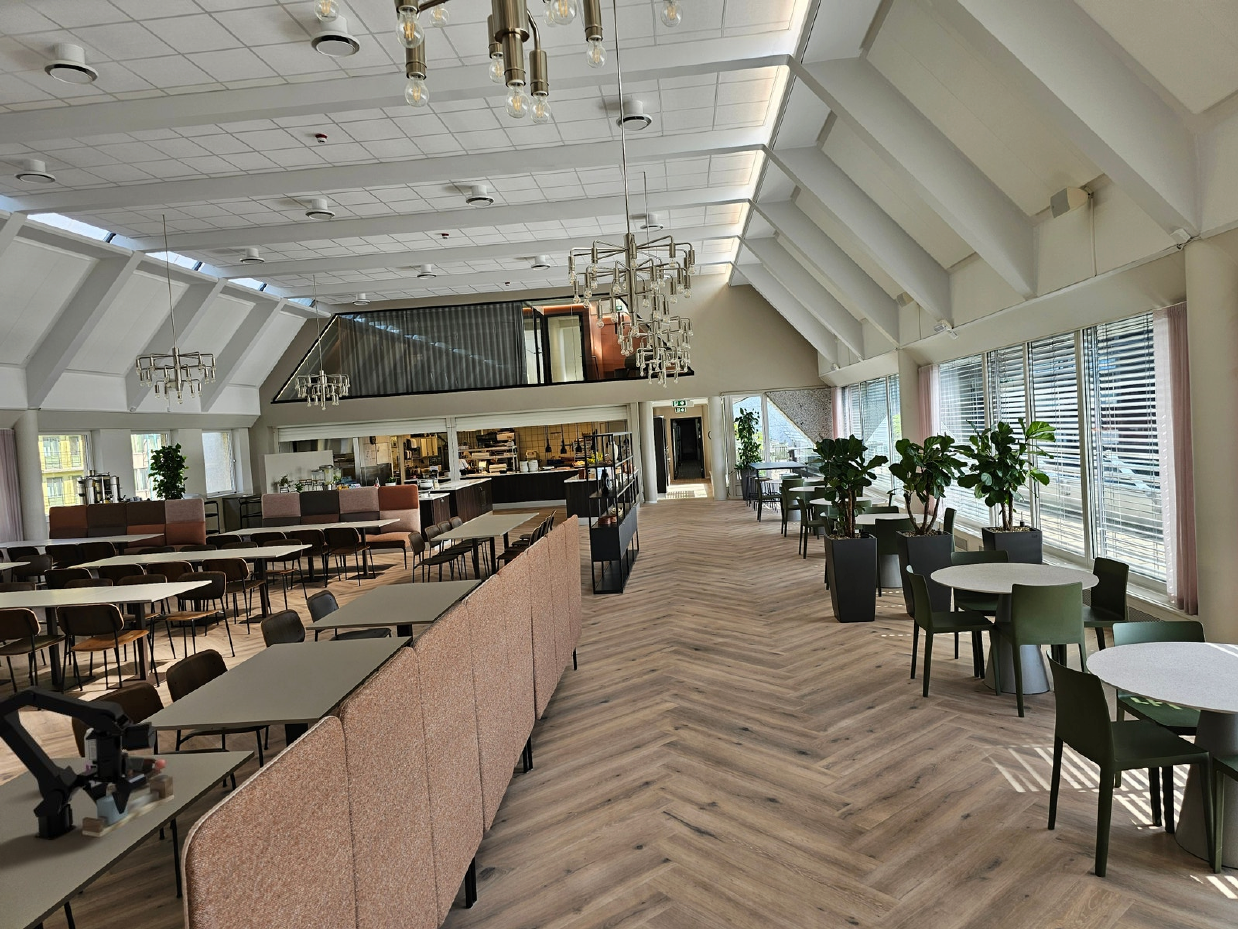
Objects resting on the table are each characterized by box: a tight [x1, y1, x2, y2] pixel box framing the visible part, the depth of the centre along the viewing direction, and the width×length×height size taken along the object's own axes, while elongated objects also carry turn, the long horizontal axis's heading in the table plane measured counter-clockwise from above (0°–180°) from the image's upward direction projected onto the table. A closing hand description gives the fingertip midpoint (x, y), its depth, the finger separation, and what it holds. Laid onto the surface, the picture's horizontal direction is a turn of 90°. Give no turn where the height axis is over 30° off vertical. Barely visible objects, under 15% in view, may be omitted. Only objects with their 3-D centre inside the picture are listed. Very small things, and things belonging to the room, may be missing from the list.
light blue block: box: [96, 793, 128, 825], centre depth 201 cm, size 5×4×6 cm
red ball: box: [154, 758, 166, 770], centre depth 215 cm, size 2×2×2 cm
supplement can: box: [83, 727, 97, 771], centre depth 231 cm, size 8×8×15 cm
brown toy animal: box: [123, 757, 162, 784], centre depth 226 cm, size 12×10×8 cm
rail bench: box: [81, 774, 175, 838], centre depth 206 cm, size 23×6×6 cm, turn 163°
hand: (112, 812), depth 201 cm, fingers open, 6 cm apart
